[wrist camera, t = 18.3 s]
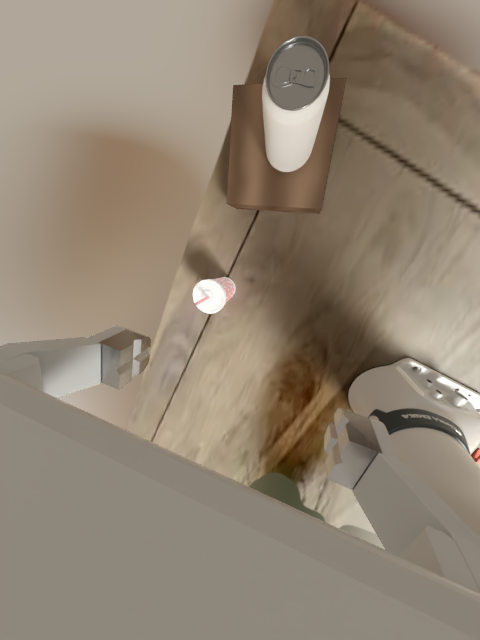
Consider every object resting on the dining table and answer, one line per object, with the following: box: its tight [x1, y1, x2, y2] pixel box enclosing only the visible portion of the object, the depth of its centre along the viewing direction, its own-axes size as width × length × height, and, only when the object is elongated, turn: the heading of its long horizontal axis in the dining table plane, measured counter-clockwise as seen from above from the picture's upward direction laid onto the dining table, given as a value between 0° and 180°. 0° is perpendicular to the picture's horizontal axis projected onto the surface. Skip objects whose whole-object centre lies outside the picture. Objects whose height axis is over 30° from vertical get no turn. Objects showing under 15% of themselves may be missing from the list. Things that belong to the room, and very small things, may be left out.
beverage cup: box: [193, 277, 236, 314], centre depth 41 cm, size 6×6×14 cm
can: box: [262, 36, 330, 172], centre depth 26 cm, size 6×6×12 cm
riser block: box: [227, 78, 346, 214], centre depth 35 cm, size 15×15×6 cm
